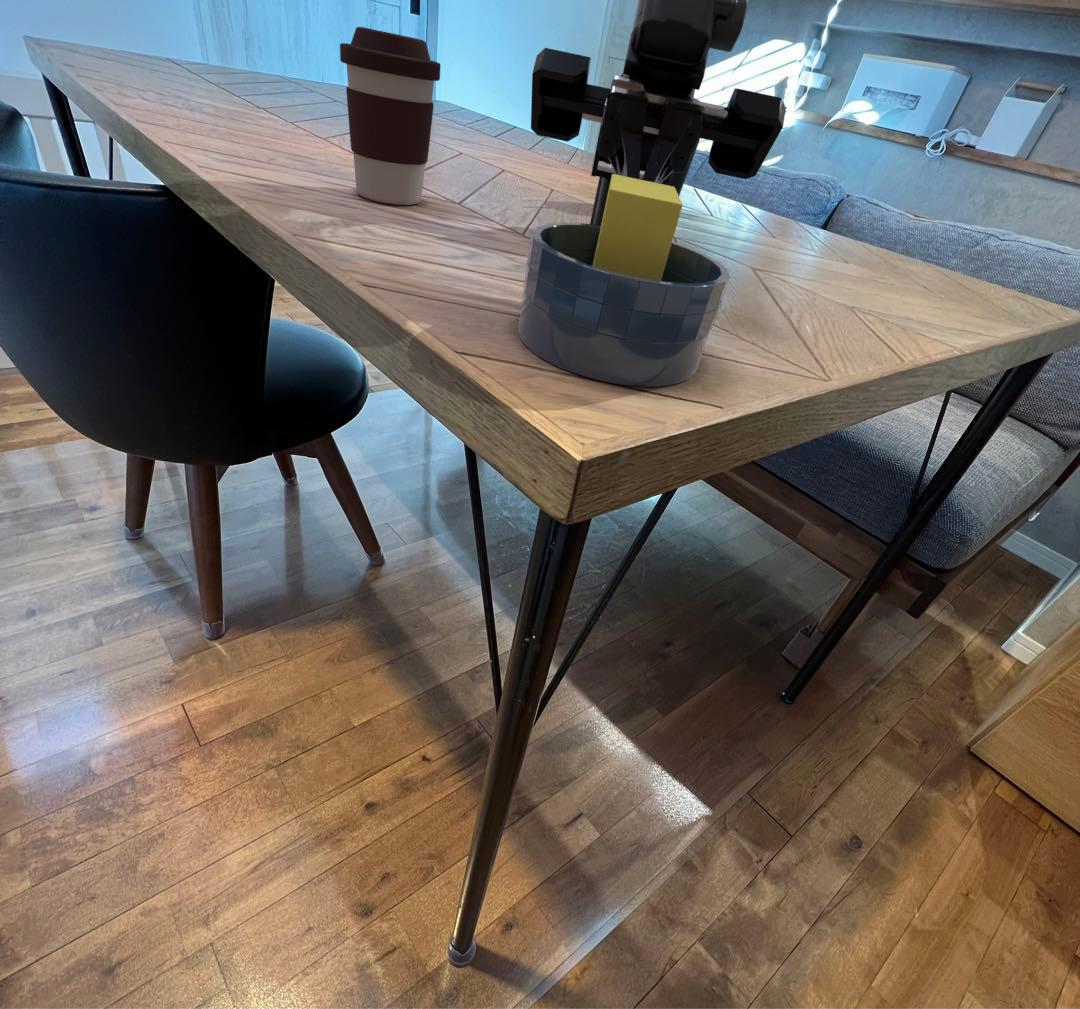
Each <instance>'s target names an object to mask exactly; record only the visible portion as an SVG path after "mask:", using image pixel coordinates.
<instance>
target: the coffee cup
mask: <svg viewBox="0 0 1080 1009" xmlns="http://www.w3.org/2000/svg"><path fill="white" fill-rule="evenodd" d="M339 60H340V62H341V63H342V64H346V73H347V74H346V76H347V86H346V89H345V90H346V91H345V92H346V93H345V94H346V105H347V116H348V129H349V141H350V150H351V152H352V153H353V163H354V164H353V165H354V178H355V179H354V180H355V189H356V192H357V194H358V195H359V196H361V197H362V198H365V199H367V200H370V201H373V202H376V203H382V204H388V205H399V206H412V205H416V204H419V203H420V202H421V201H422V198H423V188H424V180H425V171H426V170H425V169H426V164H427V163H428V159H429V150H430V141H431V135H432V134H431V133H432V126H433V114H434V102H433V94H434V87H435V86H434V84H435V82H438V81H440V80H441V67H442V66H441V63H440V62H437V61H435V60H432V59H431V56H430V53H429V48H428V45H427V42H426V41H425V40H423V39H420V38H415V37H411V36H406V35H403V34H397V33H393V32H388V31H383V30H378V29H373V28H368V27H363V26H356V28H355V29H354V33H353V35H352V39H351V42H350V43H347V42H344V43H343V42H341V43H340V44H339Z"/></svg>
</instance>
